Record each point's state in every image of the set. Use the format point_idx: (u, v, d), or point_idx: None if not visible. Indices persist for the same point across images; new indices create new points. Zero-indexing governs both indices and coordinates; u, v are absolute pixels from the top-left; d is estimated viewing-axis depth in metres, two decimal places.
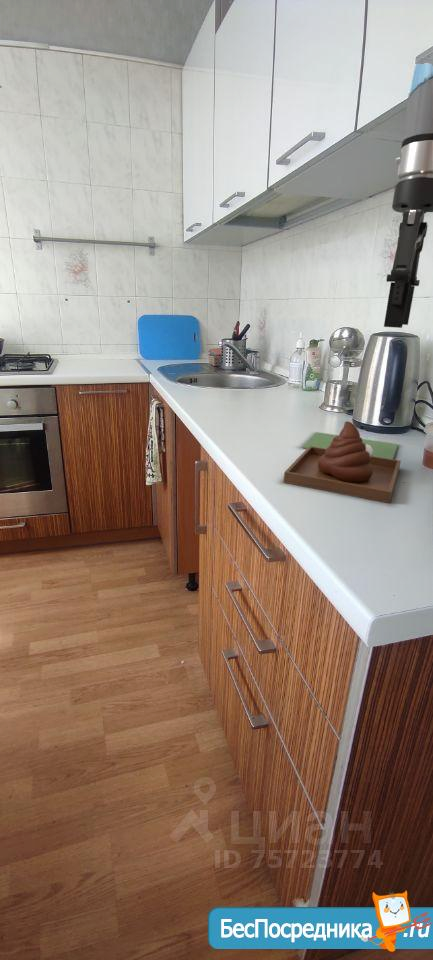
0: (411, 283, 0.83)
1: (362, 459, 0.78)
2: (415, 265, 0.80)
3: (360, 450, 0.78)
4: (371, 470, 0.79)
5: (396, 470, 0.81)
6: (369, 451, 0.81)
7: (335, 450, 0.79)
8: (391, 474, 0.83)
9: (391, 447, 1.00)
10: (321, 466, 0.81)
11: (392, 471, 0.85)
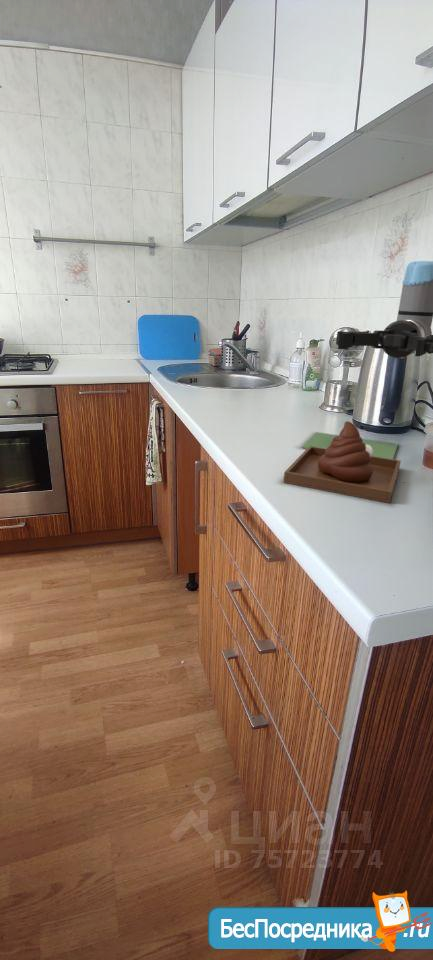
0: (428, 341, 0.84)
1: (362, 459, 0.78)
2: (417, 338, 0.88)
3: (360, 450, 0.78)
4: (371, 470, 0.79)
5: (396, 470, 0.81)
6: (369, 451, 0.81)
7: (335, 450, 0.79)
8: (391, 474, 0.83)
9: (391, 447, 1.00)
10: (321, 466, 0.81)
11: (392, 471, 0.85)
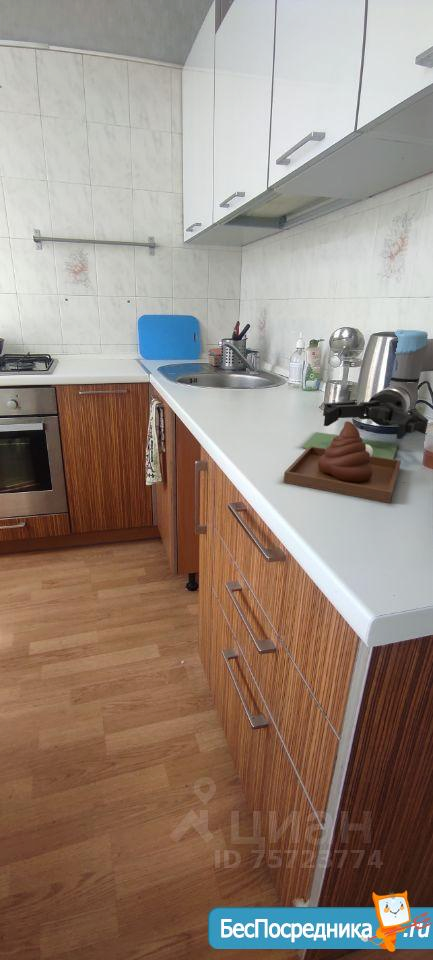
0: (410, 420, 0.88)
1: (362, 459, 0.78)
2: (400, 414, 0.91)
3: (360, 450, 0.78)
4: (371, 470, 0.79)
5: (396, 470, 0.81)
6: (369, 451, 0.81)
7: (335, 450, 0.79)
8: (391, 474, 0.83)
9: (391, 447, 1.00)
10: (321, 466, 0.81)
11: (392, 471, 0.85)
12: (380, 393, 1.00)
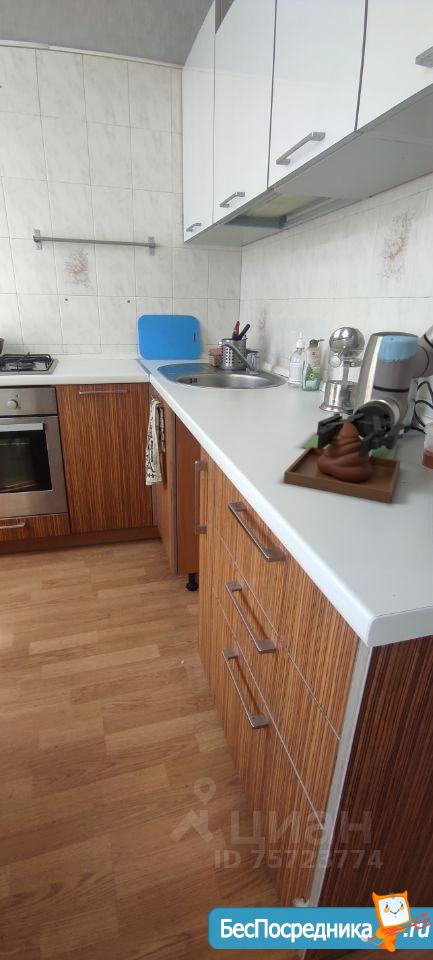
0: (376, 435, 0.80)
1: (361, 459, 0.78)
2: (374, 428, 0.83)
3: None
4: (370, 470, 0.79)
5: (396, 470, 0.81)
6: None
7: (334, 450, 0.79)
8: (391, 474, 0.83)
9: None
10: (320, 466, 0.81)
11: (392, 471, 0.85)
12: (366, 405, 0.91)
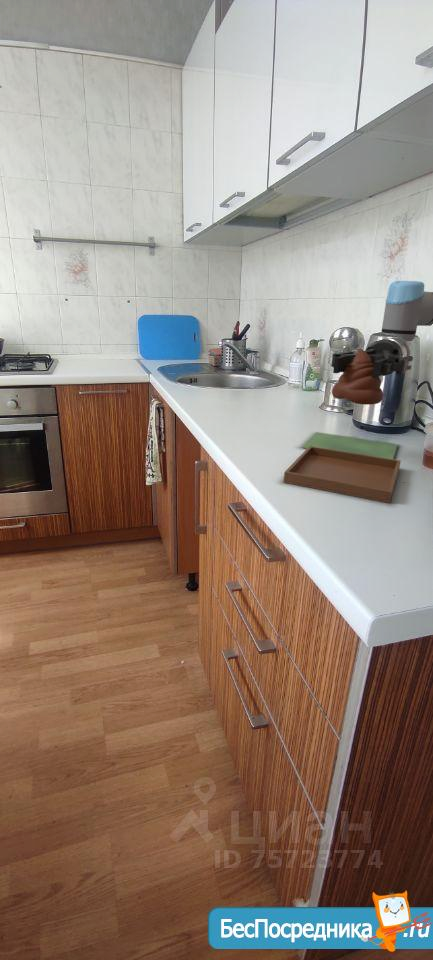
0: (387, 362, 0.86)
1: (374, 382, 0.84)
2: (385, 358, 0.90)
3: None
4: (382, 393, 0.86)
5: (396, 470, 0.81)
6: (380, 377, 0.87)
7: (349, 375, 0.86)
8: (391, 474, 0.83)
9: (391, 447, 1.00)
10: (335, 391, 0.88)
11: (392, 471, 0.85)
12: (376, 342, 0.98)
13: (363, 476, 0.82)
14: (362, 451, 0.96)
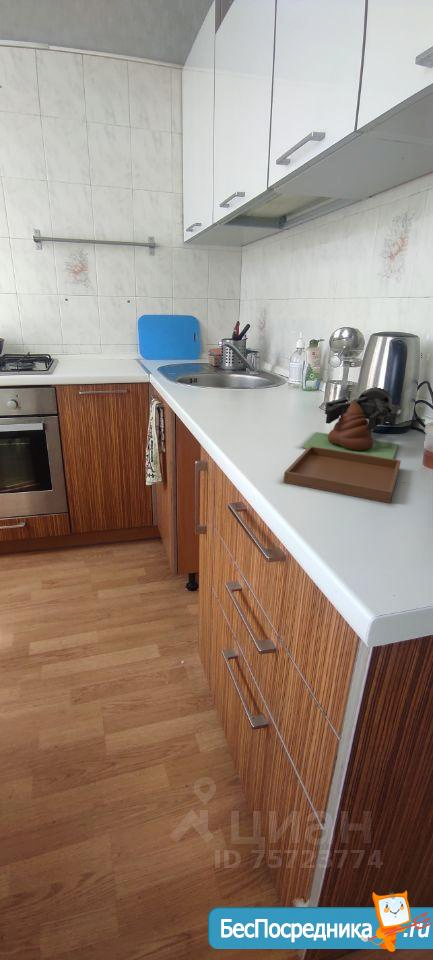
0: (381, 414, 0.97)
1: (365, 432, 0.95)
2: (378, 408, 1.00)
3: (363, 424, 0.96)
4: (372, 441, 0.96)
5: (396, 470, 0.81)
6: None
7: (343, 424, 0.96)
8: (391, 474, 0.83)
9: (391, 447, 1.00)
10: (331, 438, 0.98)
11: (392, 471, 0.85)
12: (369, 390, 1.08)
13: (363, 476, 0.82)
14: (362, 451, 0.96)
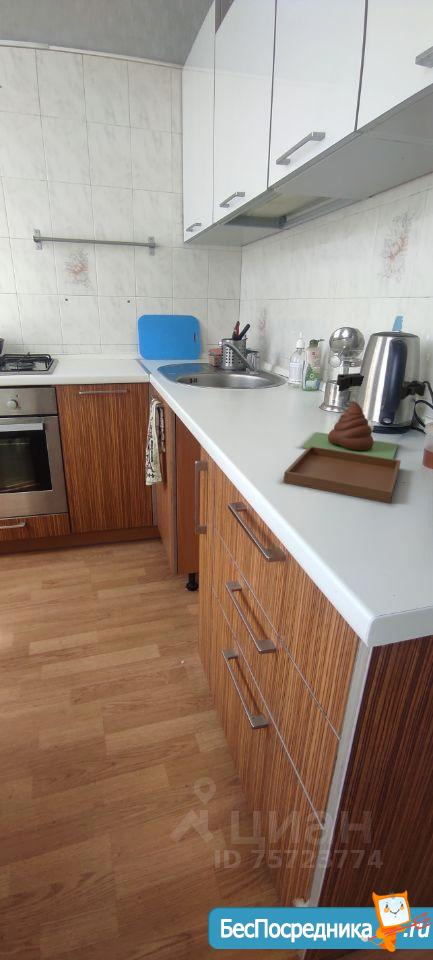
0: (411, 385, 1.05)
1: (365, 431, 0.95)
2: None
3: (363, 424, 0.96)
4: (372, 441, 0.96)
5: (396, 470, 0.81)
6: (370, 426, 0.98)
7: (343, 424, 0.96)
8: (391, 474, 0.83)
9: (391, 447, 1.00)
10: (331, 438, 0.98)
11: (392, 471, 0.85)
12: None
13: (363, 476, 0.82)
14: (362, 451, 0.96)
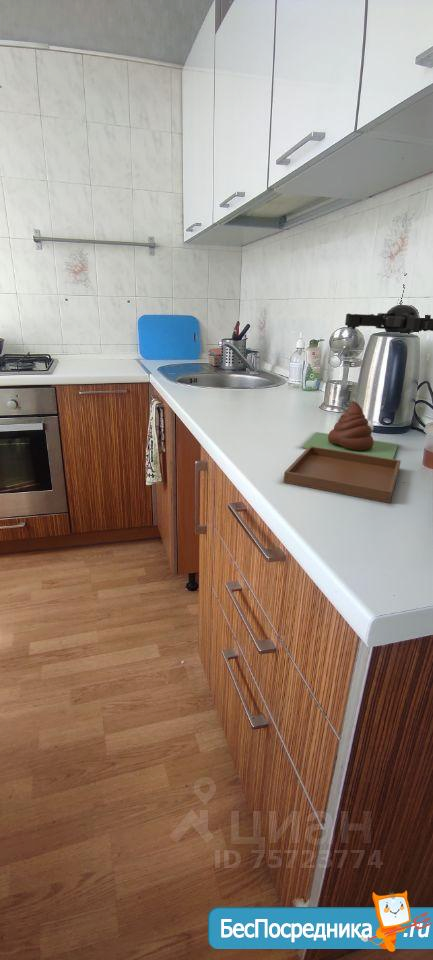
0: (423, 320, 1.00)
1: (365, 432, 0.95)
2: (414, 318, 1.04)
3: (363, 424, 0.96)
4: (372, 441, 0.96)
5: (396, 470, 0.81)
6: (370, 426, 0.98)
7: (343, 424, 0.96)
8: (391, 474, 0.83)
9: (391, 447, 1.00)
10: (331, 438, 0.98)
11: (392, 471, 0.85)
12: (395, 307, 1.12)
13: (363, 476, 0.82)
14: (362, 451, 0.96)
